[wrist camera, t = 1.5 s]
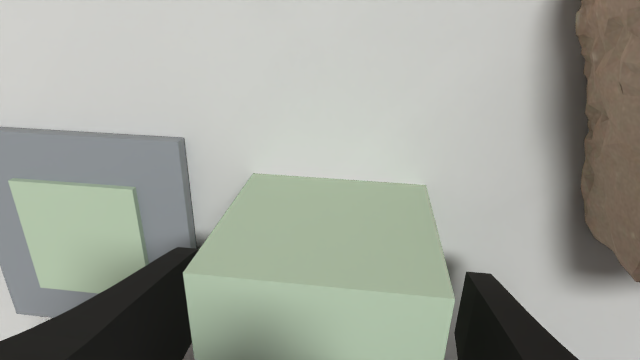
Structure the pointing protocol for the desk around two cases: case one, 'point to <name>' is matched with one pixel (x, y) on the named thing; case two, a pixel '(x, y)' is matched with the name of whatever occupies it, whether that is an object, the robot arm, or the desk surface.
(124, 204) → the plaque
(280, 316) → the sage block
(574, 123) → the desk surface
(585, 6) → the brick
